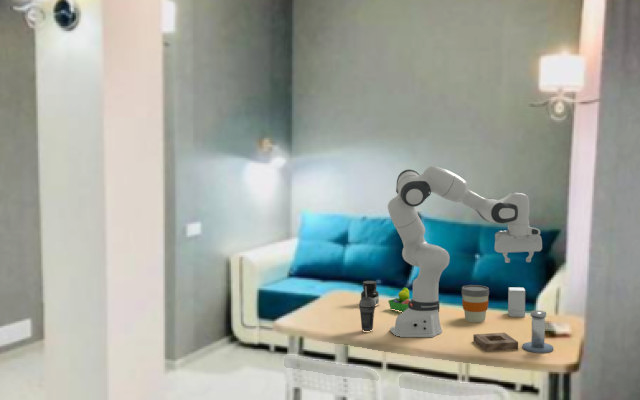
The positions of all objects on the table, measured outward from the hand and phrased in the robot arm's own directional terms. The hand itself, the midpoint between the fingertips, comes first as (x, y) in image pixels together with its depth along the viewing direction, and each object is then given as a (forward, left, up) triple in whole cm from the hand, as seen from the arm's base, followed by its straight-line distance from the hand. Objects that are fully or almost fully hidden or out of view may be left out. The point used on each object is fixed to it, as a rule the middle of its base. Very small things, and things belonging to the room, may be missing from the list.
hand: (518, 262), depth 303 cm
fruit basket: (-39, +46, -31) cm, 68 cm away
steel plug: (-1, -22, -30) cm, 37 cm away
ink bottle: (-52, +60, -31) cm, 85 cm away
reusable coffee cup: (-10, +24, -31) cm, 41 cm away
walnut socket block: (-16, -15, -31) cm, 38 cm away
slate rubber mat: (-1, -22, -31) cm, 38 cm away
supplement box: (+12, +28, -31) cm, 44 cm away
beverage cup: (-63, +15, -31) cm, 72 cm away
